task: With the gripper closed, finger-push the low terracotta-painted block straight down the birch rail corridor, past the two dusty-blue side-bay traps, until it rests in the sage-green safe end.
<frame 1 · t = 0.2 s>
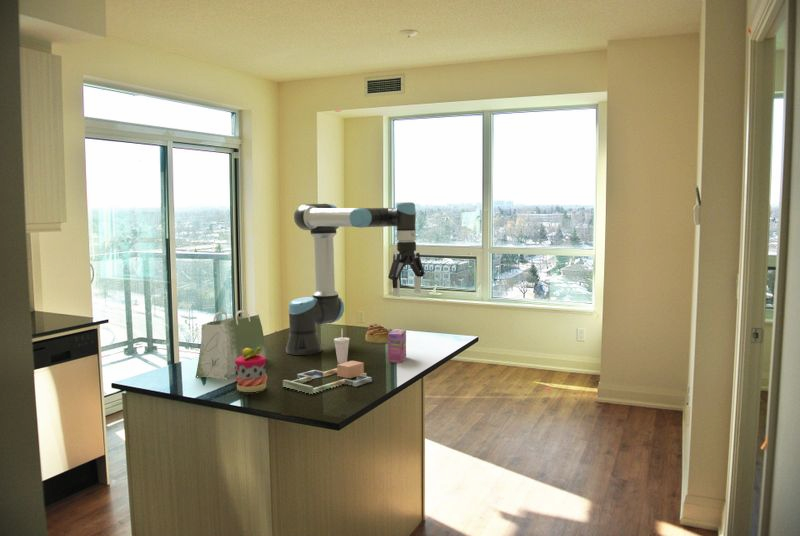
hand: (407, 294, 245), 27 cm above the table, fingers open, 13 cm apart
smoothie: (342, 362, 249), on the table
cake: (251, 389, 212), on the table
grocery bag: (233, 368, 243), on the table
block: (350, 375, 229), on the table
pastry: (378, 340, 292), on the table
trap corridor: (327, 381, 220), on the table
box: (397, 360, 252), on the table
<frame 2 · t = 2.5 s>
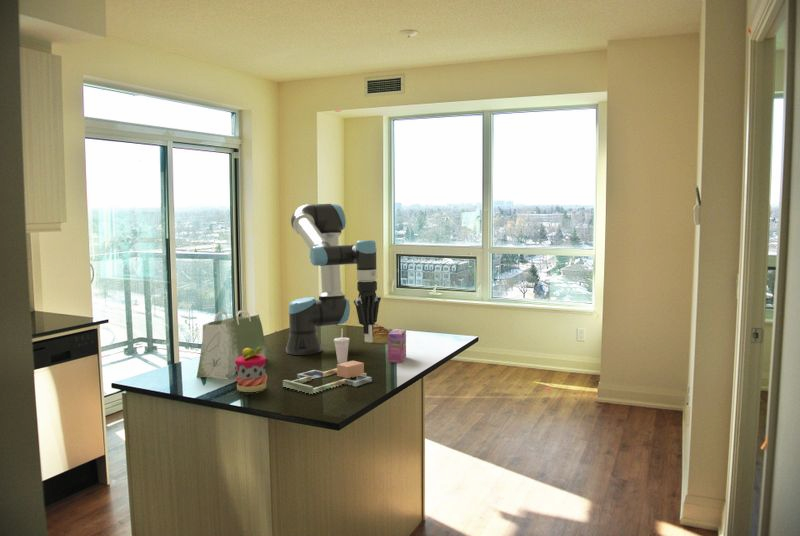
hand: (368, 341, 235), 11 cm above the table, fingers closed
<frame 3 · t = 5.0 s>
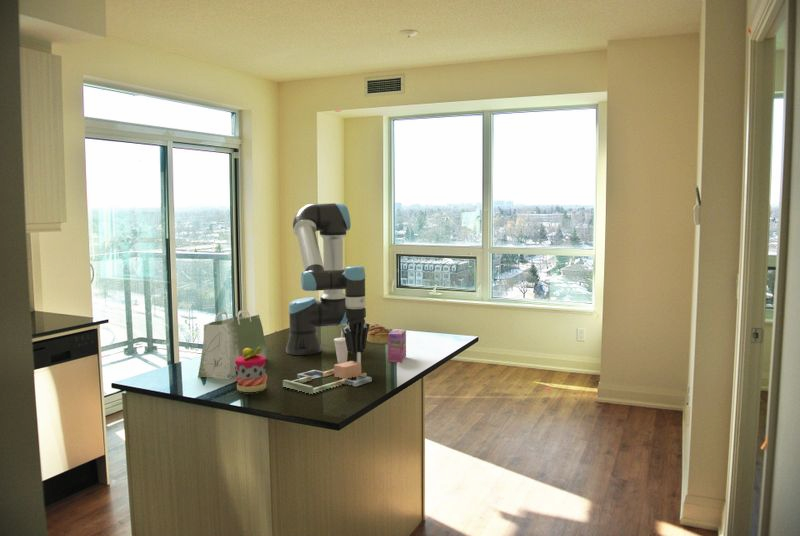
hand: (357, 369, 231), 1 cm above the table, fingers closed
block: (347, 376, 228), on the table, touching gripper
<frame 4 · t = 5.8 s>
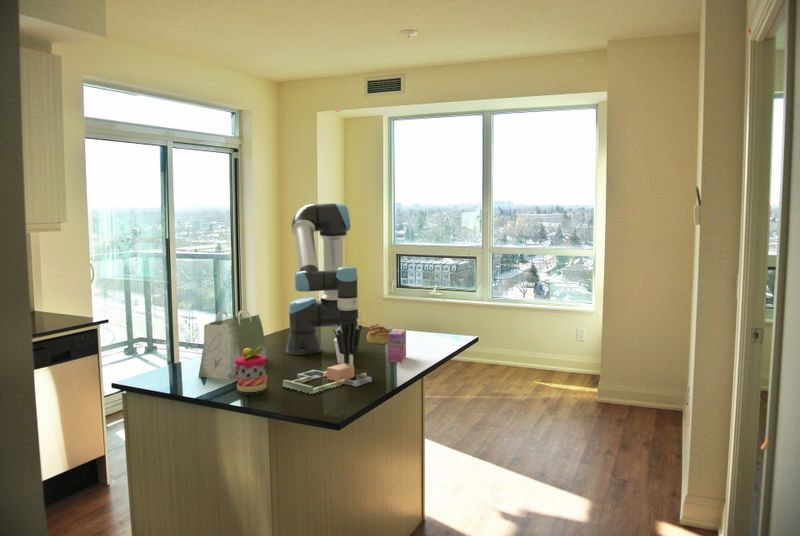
hand: (349, 371, 228), 1 cm above the table, fingers closed
block: (340, 378, 224), on the table, touching gripper
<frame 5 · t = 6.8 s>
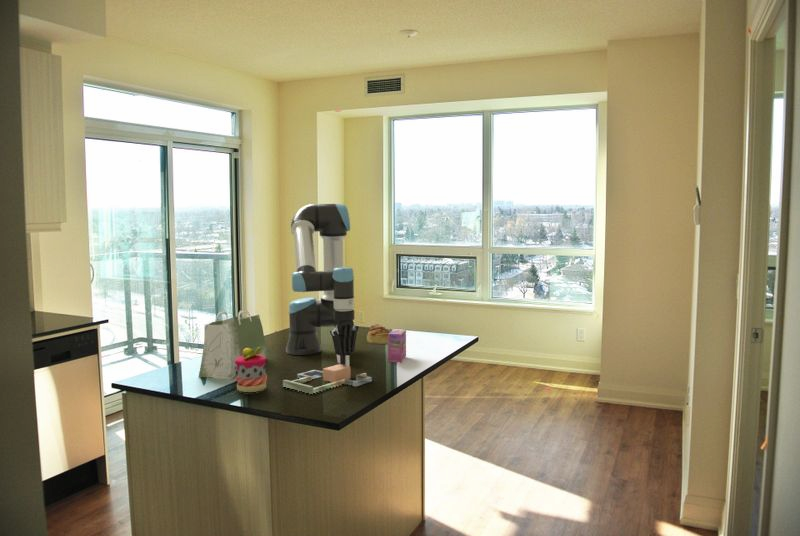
hand: (345, 372, 227), 1 cm above the table, fingers closed
block: (337, 379, 223), on the table, touching gripper
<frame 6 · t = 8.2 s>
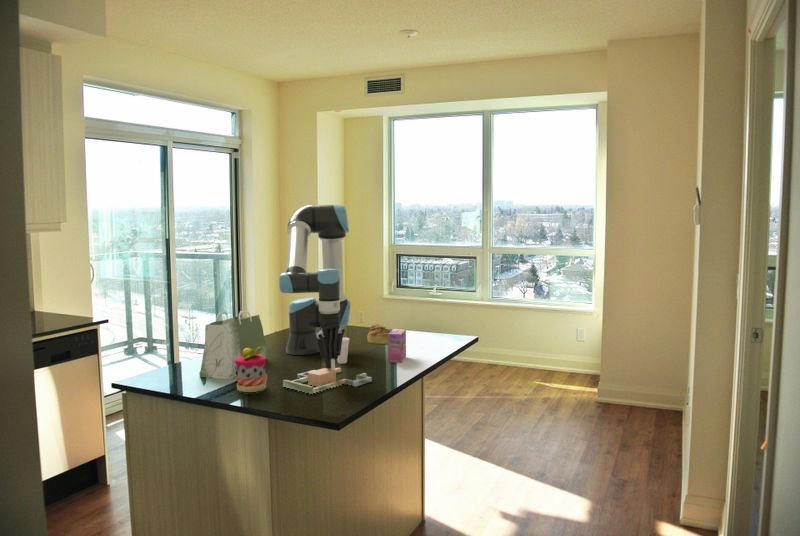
hand: (331, 376, 221), 2 cm above the table, fingers closed
block: (322, 384, 217), on the table, touching gripper
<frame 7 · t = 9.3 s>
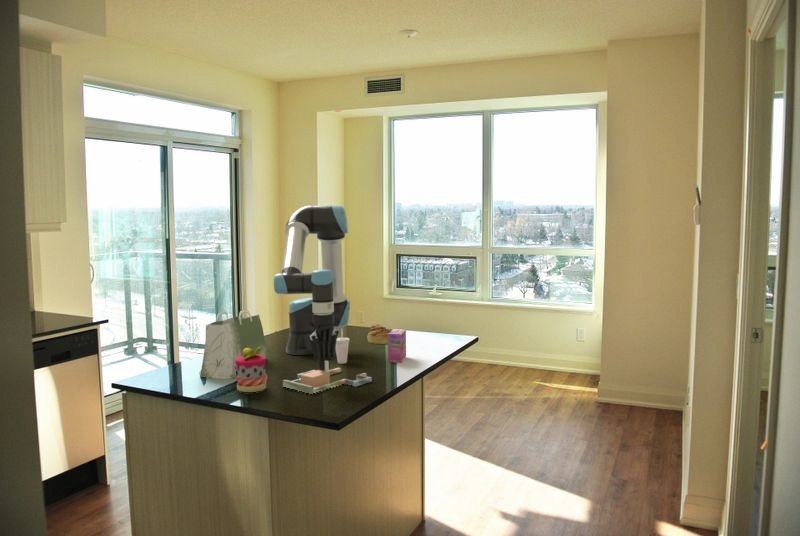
hand: (324, 378, 219), 1 cm above the table, fingers closed
block: (315, 386, 215), on the table
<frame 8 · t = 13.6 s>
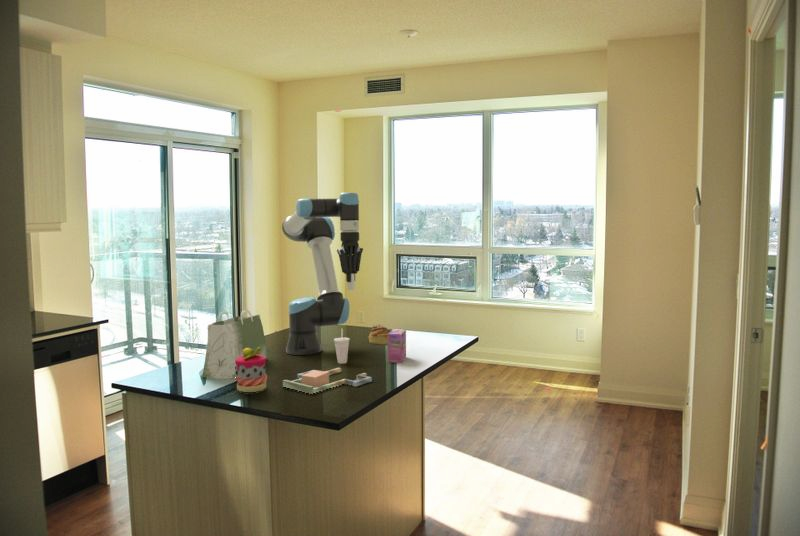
hand: (351, 289, 248), 29 cm above the table, fingers closed
at the end: block inside the target area (1.5 cm from its centre), on the table; block tilted 0° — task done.
